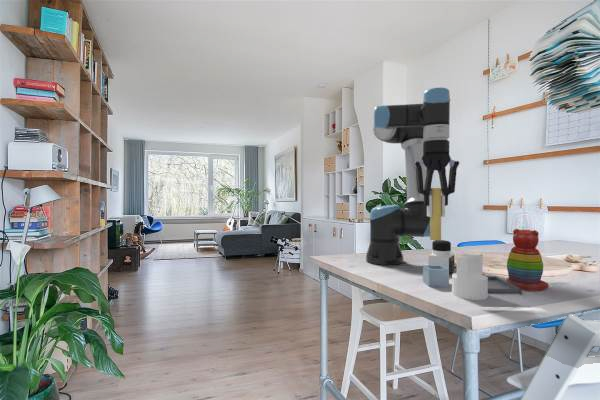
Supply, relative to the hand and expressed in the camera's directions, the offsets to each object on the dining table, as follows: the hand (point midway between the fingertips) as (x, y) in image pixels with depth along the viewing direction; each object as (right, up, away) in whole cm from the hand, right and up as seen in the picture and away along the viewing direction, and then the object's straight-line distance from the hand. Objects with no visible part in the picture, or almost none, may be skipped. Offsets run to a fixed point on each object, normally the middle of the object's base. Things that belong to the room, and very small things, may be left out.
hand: (435, 216), depth 107 cm
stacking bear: (+27, -22, -1) cm, 35 cm away
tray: (+16, -22, -2) cm, 27 cm away
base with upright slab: (+5, -23, -10) cm, 25 cm away
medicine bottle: (+8, -21, +15) cm, 28 cm away
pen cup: (0, -22, +1) cm, 22 cm away
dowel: (0, -7, 0) cm, 7 cm away
